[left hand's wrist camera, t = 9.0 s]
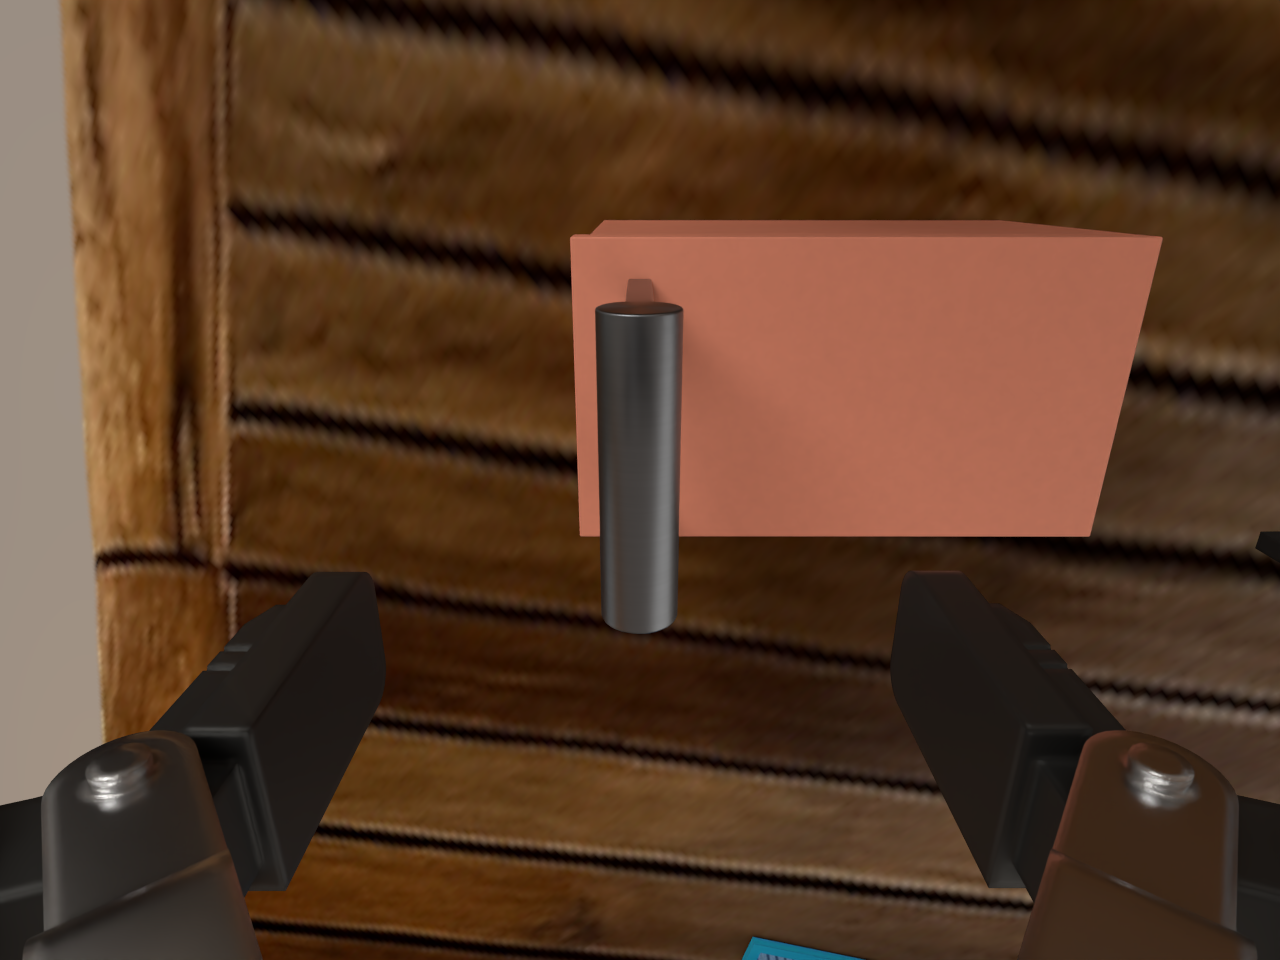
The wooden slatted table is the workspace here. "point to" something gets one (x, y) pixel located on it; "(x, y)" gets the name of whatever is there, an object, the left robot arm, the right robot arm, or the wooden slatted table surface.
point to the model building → (787, 952)
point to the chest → (834, 227)
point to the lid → (842, 390)
